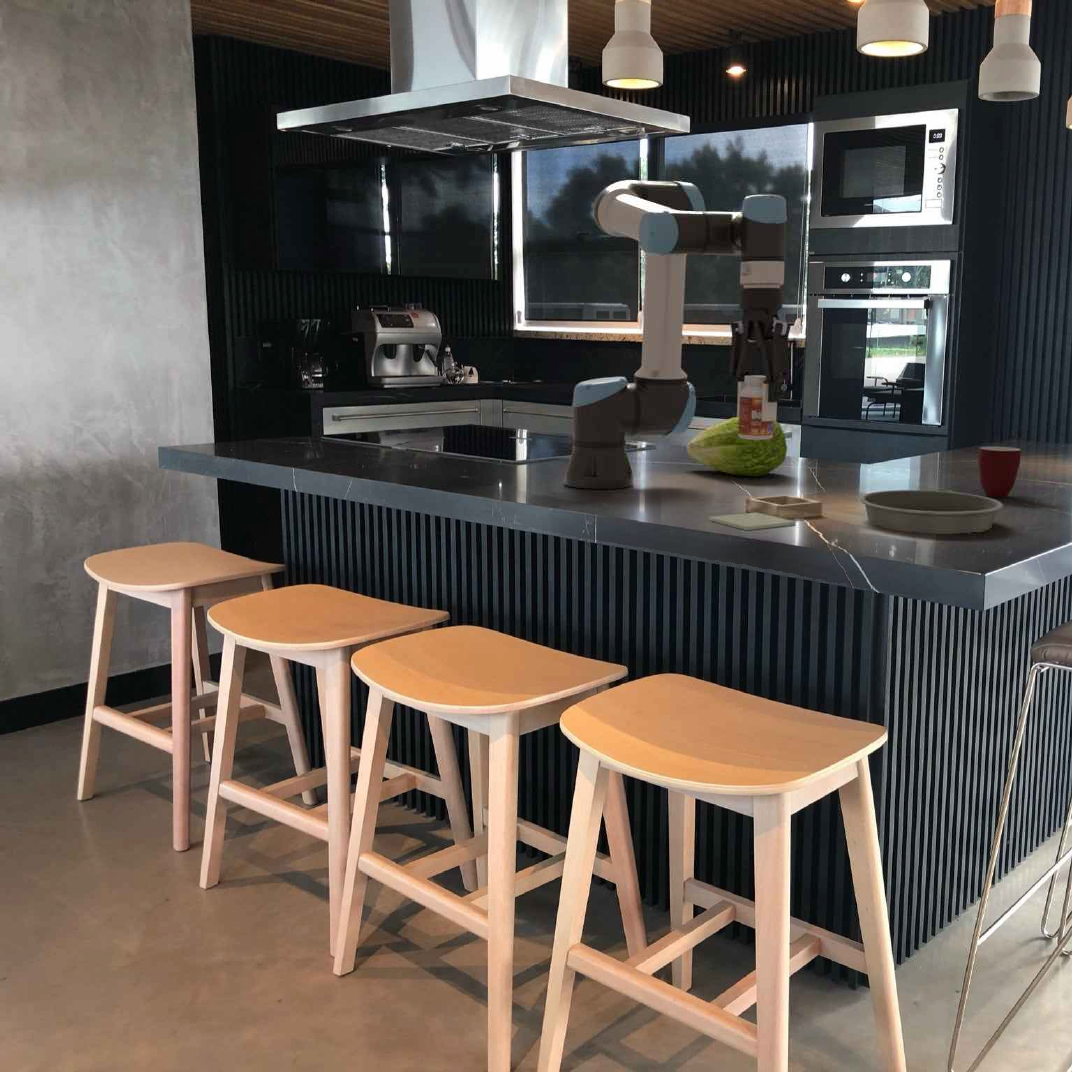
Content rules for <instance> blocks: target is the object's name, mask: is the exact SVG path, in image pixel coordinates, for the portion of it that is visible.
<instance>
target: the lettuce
mask: <svg viewBox="0 0 1072 1072" xmlns="http://www.w3.org/2000/svg"><path fill="white" fill-rule="evenodd" d="M738 428H739V418H737V416H736V417H735V416H733V417H731V418H728V419H726V420H723V421H721V422H718V423H715V424H713V425H711V426H709V427H707V428H706V429H704V430H703V431H701V432H700V433H699V434H697V435H696V436H695V437H694V438H693V439H692V440H690V441H689V442H688V444H687V445H686V451H687V455H688V456H689V457H690V459H693V460H694V461H697V462H698V463H700V464H702V465H704V466H706V467H708V468H709V469H713V470H715V471H718V472H723V473H726V474H730V475H732V476H742V477H761V476H764V475H767V474H769V473H770V472H773V471H774V470H775V469H777V468H778V467H780V466H781V465H782V464H783V463H784V462H785V461H786V459H787V453H788V452H787V451H788V447H787V446H788V445H787V441H786V435H785V434H784V431H783V429H782V426H781V423H779V422H778V421H777V420H776V421H774V428H773V437H772V438H771V439H764V440H754V439H743V438H740V437H739V436H738Z"/></svg>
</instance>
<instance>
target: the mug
mask: <svg viewBox="0 0 1072 1072" xmlns="http://www.w3.org/2000/svg"><path fill="white" fill-rule="evenodd" d="M1021 454H1022V449H1020V448H1017V447H1010V446H980V447H979V448H978V457H977V458H978V460H977V461H978V463H977V464H978V471H979V472H978V473H979V480H980V481H979V482H980V485H981V487H982V488H981V489H982V490H983V492H984V494H985V497H987V498H992V499H1004V498H1007V497H1008V495H1009V494H1010V492H1011V491H1012V489H1013V487H1014V486H1015V483H1016V479H1017V475H1018V473H1019V468H1020V465H1021V456H1022V455H1021Z"/></svg>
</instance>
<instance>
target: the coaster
mask: <svg viewBox="0 0 1072 1072" xmlns="http://www.w3.org/2000/svg"><path fill="white" fill-rule="evenodd" d="M708 521H709V522H715V523H717V524H721V525H725V526H730V527H732V528H733V527H734V528H736V529H741V530H745V531H750V530H752V531H753V530H761V529H770V528H777V527H778V528H779V527H790V526H796V521H794V520H790V519H782V518H778V517H774V516H770V515H766V514H762V513H757V512H755V513H750V512H747V513H737V514H726V515H717V516H716V515H715V516H708Z"/></svg>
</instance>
